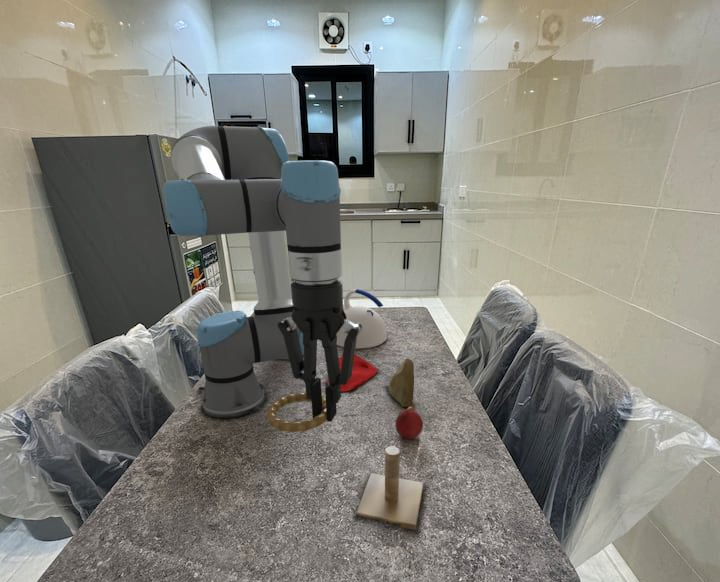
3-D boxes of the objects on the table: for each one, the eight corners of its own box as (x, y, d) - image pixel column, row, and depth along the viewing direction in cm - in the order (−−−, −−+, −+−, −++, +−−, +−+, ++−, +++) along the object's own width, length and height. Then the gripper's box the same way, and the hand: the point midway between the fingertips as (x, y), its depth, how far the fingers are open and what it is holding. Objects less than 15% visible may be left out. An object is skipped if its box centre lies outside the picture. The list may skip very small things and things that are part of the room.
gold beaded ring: (254, 428, 63) (252, 419, 63) (286, 395, 73) (285, 388, 73) (316, 438, 60) (315, 430, 59) (341, 403, 70) (340, 395, 69)
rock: (422, 403, 93) (428, 380, 101) (401, 377, 91) (409, 355, 99) (388, 418, 99) (396, 395, 107) (367, 394, 97) (378, 372, 105)
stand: (356, 518, 64) (354, 465, 60) (370, 477, 73) (370, 428, 69) (415, 530, 62) (418, 476, 57) (423, 487, 71) (426, 437, 66)
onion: (404, 449, 81) (405, 417, 78) (390, 435, 85) (390, 404, 82) (427, 441, 83) (429, 410, 80) (411, 427, 88) (413, 397, 85)
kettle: (352, 324, 153) (351, 280, 145) (397, 335, 141) (398, 287, 134) (318, 340, 138) (315, 291, 130) (365, 353, 126) (365, 300, 119)
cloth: (370, 393, 102) (370, 386, 101) (321, 390, 104) (320, 383, 104) (381, 354, 126) (381, 348, 125) (340, 352, 128) (340, 346, 127)
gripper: (257, 282, 54) (274, 421, 64) (358, 288, 50) (360, 435, 60) (281, 271, 61) (294, 399, 70) (372, 275, 57) (372, 410, 67)
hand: (324, 415), depth 65 cm, fingers closed on gold beaded ring, 2 cm apart
